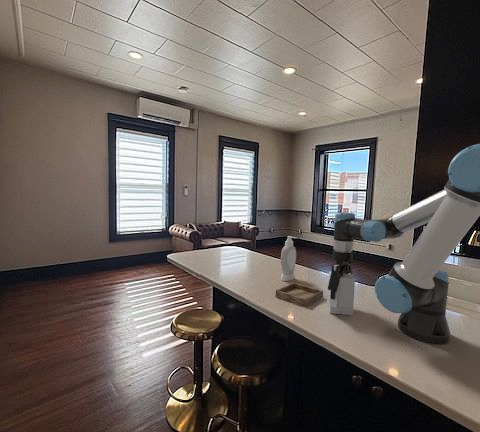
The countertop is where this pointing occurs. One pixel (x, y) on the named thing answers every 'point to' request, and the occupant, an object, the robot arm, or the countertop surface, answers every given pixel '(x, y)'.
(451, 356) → the countertop surface
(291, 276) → the soap bottle
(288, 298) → the tray
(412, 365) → the countertop surface
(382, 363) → the countertop surface
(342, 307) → the supplement box
